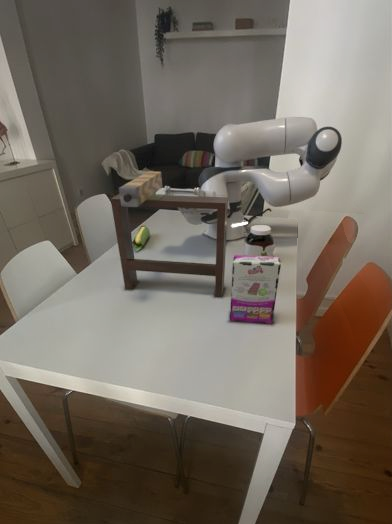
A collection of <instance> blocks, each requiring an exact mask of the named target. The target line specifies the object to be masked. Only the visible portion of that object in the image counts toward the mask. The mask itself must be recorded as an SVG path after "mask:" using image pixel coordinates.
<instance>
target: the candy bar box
mask: <svg viewBox="0 0 392 524" xmlns="http://www.w3.org/2000/svg"><path fill="white" fill-rule="evenodd" d="M232 259H233V260H232V270H231V287H230V289H231V290H230V306H229V307H230V309H229V310H230V311H229V321H230V322H237V323H252V324H253V323H255V324H268V325H269V324H270V325H271V324H273V321H274V320H273V319H274V314H275V308H276V307H275V306H276V300H277V299H276V298H277V294H278V287H279V280H280V273H281V268H282V267H281V266H282V264H281V259H280V256H276V255H272V256H245V255H244V254H241V255H239V254H234V255H233V258H232Z"/></svg>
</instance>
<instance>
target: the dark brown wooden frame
mask: <svg viewBox="0 0 392 524" xmlns="http://www.w3.org/2000/svg"><path fill="white" fill-rule="evenodd" d="M110 204H111V211H112V217H113V222H114V229H115V234H116V241H117V247H118V252H119V260H120V266H121V271H122V278H123V284H124V289H125V290H128V291H131V290H133V288H134V287H135V286H136V285H137V283H138V274H137V272H149V273H150V272H151V273H163V274H164V273H165V274H176V275H177V274H179V275H193V276H204V277H205V276H206V277H215V281H214V297H215V298H222V296H223V292H224V288H225V272H226V250H227V240H226V233H227V212H228V197H203V196H173V195H163V194H156V193H154V194H153V195H152V196H151V197H149V198H148V199H147V200H146V201H144V202H143V203H142V204H140V205H139V206H138V207H149V208H150V207H151V208H173V209H174V208H176V209H178V208H200V209H217V239H216V246H215V263H202V262H187V261H186V262H185V261H174V260H173V261H171V260H157V259H139V258H135V252H134V248H133V244H132V242H133V238H132V231H131V230H132V229H131V223H130V215H129V207H124V206H121V200H120V193H118V194H116V195H114V196H113V197H111V198H110Z"/></svg>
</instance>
